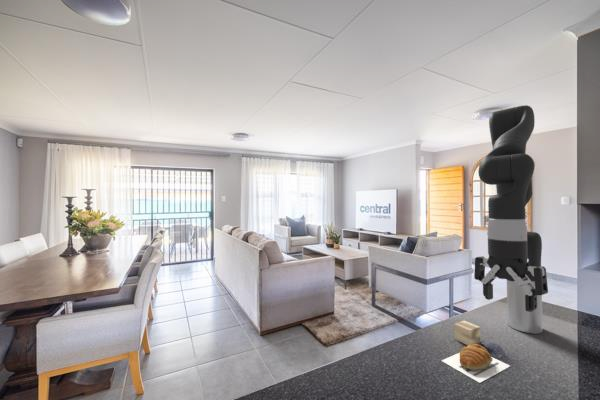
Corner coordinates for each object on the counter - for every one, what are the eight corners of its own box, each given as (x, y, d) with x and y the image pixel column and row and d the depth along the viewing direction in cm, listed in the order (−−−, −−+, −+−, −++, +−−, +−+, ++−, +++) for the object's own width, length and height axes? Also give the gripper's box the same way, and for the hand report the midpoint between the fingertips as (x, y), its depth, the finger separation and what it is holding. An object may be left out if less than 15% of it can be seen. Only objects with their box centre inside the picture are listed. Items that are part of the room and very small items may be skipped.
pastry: (482, 377, 65) (481, 361, 65) (452, 364, 70) (452, 350, 70) (493, 362, 71) (493, 348, 71) (465, 352, 76) (465, 338, 76)
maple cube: (464, 335, 86) (463, 320, 86) (480, 342, 81) (480, 326, 81) (454, 339, 83) (454, 323, 83) (470, 347, 79) (470, 330, 79)
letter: (471, 347, 78) (471, 347, 78) (510, 366, 69) (510, 365, 69) (441, 360, 72) (441, 360, 72) (479, 383, 63) (479, 382, 63)
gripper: (552, 239, 58) (554, 312, 58) (484, 233, 71) (485, 293, 71) (535, 242, 55) (537, 319, 55) (467, 235, 68) (468, 297, 68)
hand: (508, 304), depth 63 cm, fingers open, 8 cm apart
